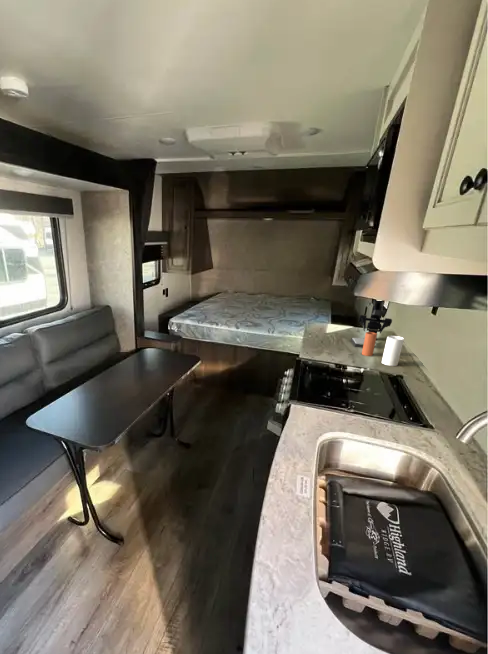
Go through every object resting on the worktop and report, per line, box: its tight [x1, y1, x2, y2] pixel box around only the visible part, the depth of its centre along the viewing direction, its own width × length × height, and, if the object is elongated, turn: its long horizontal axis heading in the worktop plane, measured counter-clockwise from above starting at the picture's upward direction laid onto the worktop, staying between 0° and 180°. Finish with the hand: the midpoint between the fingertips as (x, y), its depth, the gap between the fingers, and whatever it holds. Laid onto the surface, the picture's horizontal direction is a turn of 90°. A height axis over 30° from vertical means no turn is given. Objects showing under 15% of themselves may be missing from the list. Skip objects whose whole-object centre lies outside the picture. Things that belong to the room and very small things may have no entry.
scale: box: [350, 337, 365, 348], centre depth 229 cm, size 15×11×3 cm
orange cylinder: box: [361, 331, 378, 357], centre depth 207 cm, size 6×6×14 cm
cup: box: [381, 335, 405, 367], centre depth 192 cm, size 8×8×16 cm
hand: (372, 331), depth 212 cm, fingers open, 9 cm apart
